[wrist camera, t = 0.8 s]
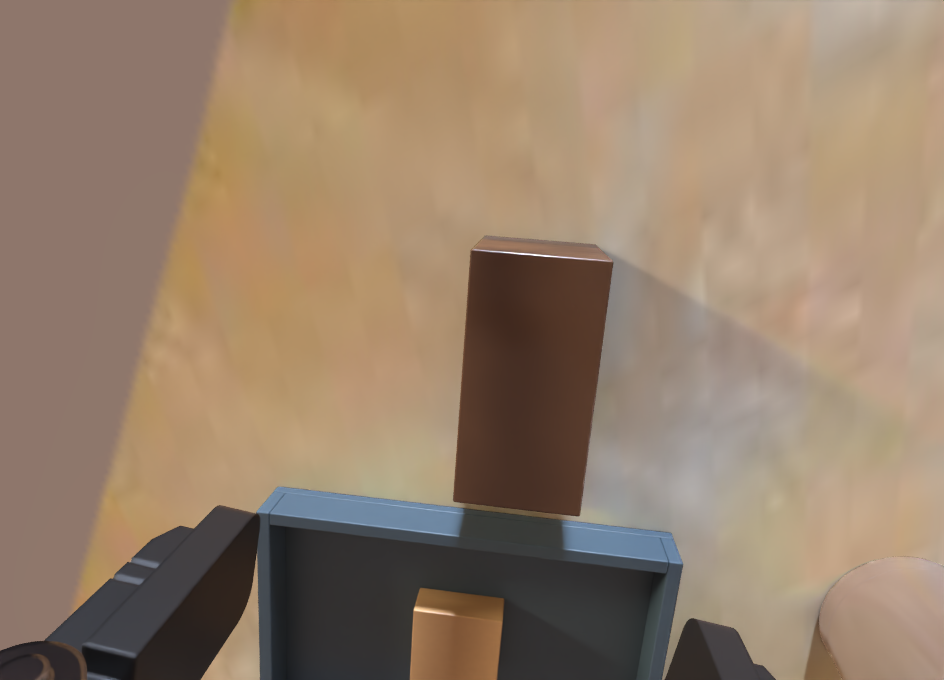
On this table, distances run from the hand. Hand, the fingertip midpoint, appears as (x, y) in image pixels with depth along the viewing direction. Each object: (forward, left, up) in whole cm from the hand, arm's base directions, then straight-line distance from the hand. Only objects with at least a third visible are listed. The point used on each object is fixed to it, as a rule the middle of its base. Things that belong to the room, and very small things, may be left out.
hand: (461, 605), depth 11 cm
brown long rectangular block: (-1, -1, -15) cm, 15 cm away
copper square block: (+1, +13, -15) cm, 20 cm away
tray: (+1, +13, -15) cm, 20 cm away
